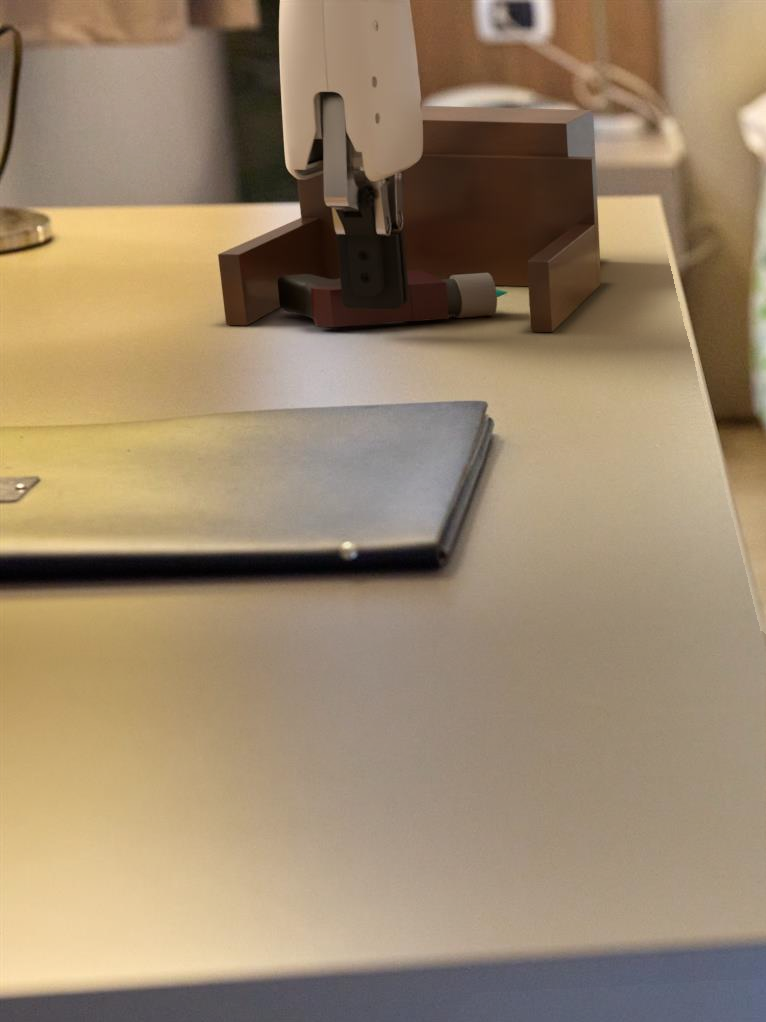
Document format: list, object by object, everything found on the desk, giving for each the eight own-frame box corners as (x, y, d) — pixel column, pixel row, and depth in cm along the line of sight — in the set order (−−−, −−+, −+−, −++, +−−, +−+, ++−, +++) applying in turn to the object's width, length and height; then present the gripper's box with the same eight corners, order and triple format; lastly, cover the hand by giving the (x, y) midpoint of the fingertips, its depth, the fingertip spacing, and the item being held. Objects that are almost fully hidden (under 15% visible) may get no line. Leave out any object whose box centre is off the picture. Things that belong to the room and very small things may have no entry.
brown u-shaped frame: (225, 325, 110) (204, 143, 107) (355, 254, 134) (342, 103, 130) (552, 332, 111) (541, 151, 107) (625, 261, 134) (618, 110, 131)
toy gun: (519, 318, 114) (514, 234, 113) (310, 335, 108) (302, 247, 106) (465, 291, 122) (459, 212, 120) (266, 306, 116) (258, 223, 114)
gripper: (319, -51, 108) (349, 281, 115) (221, -48, 94) (261, 330, 101) (455, -47, 108) (477, 285, 115) (377, -44, 94) (407, 334, 101)
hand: (376, 305), depth 108 cm, fingers closed
